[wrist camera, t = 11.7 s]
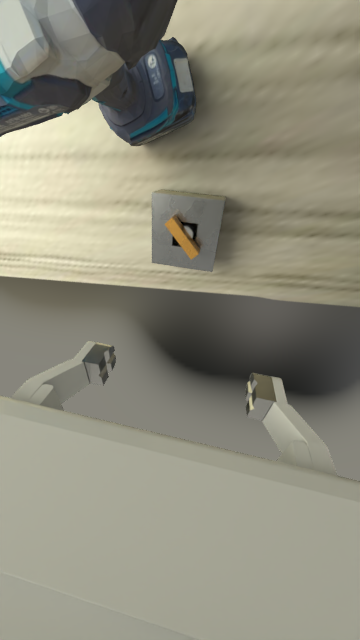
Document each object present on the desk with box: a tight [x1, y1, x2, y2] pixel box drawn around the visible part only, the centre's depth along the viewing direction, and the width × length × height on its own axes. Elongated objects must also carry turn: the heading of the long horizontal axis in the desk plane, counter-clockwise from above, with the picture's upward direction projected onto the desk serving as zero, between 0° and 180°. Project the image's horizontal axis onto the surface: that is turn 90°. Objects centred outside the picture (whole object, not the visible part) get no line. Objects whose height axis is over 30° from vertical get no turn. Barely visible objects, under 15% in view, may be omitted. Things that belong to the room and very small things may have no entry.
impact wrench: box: [0, 0, 196, 146], centre depth 17 cm, size 8×22×25 cm, turn 108°
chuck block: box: [152, 190, 226, 272], centre depth 33 cm, size 10×10×5 cm
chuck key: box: [165, 215, 200, 259], centre depth 32 cm, size 2×6×8 cm, turn 39°
